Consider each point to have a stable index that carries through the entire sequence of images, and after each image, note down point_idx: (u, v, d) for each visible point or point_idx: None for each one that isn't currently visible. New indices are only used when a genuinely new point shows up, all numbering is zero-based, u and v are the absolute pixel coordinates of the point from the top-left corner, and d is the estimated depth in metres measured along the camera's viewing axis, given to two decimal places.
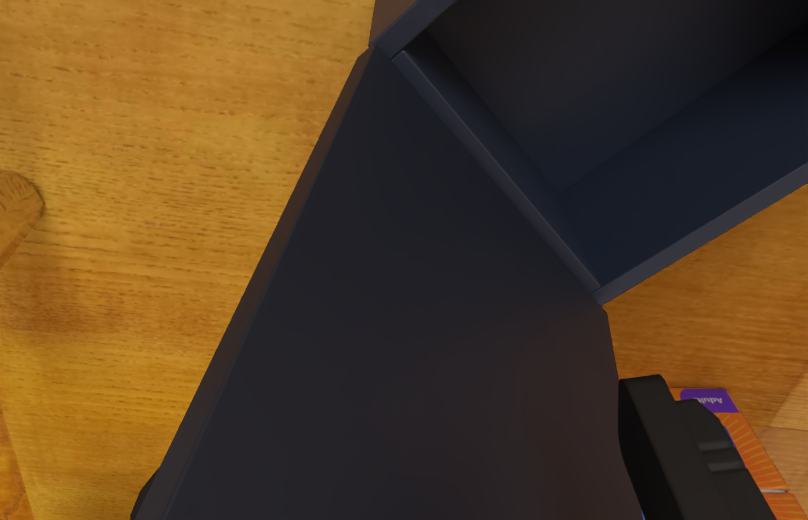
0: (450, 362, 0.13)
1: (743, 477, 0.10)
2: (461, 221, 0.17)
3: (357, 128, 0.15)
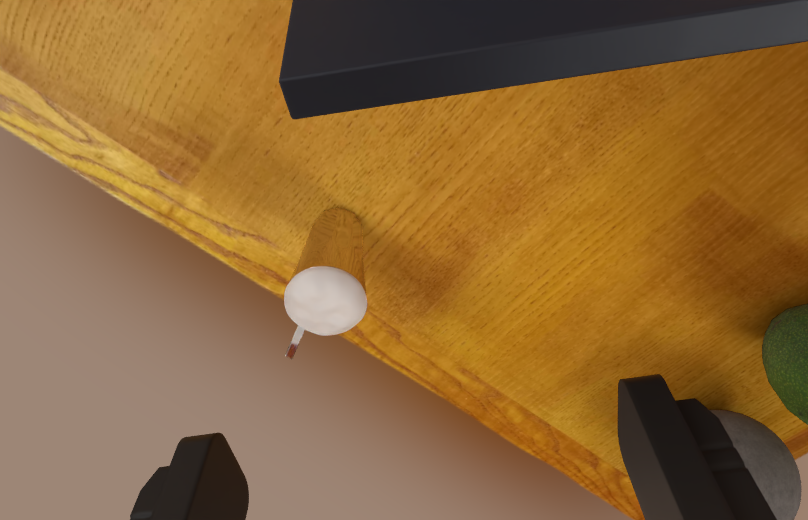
0: None
1: (743, 477, 0.10)
2: None
3: None
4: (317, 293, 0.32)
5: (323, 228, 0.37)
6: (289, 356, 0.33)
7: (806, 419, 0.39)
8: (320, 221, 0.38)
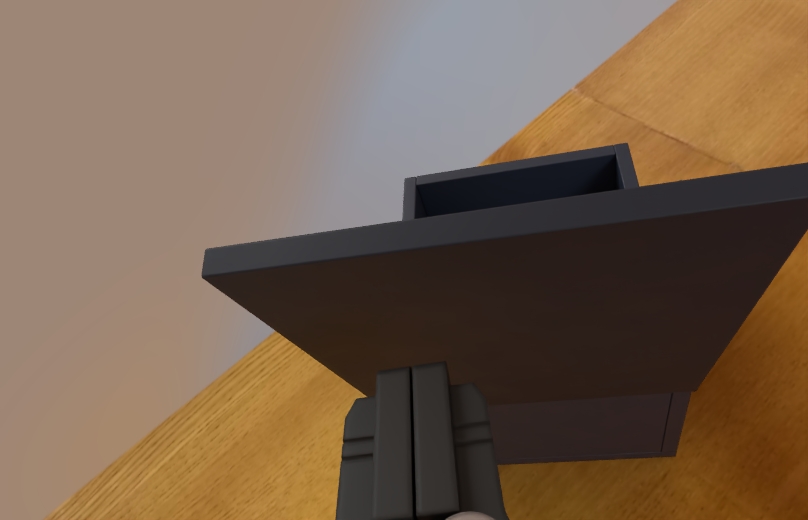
0: None
1: (487, 449, 0.11)
2: None
3: None
4: None
5: None
6: None
7: None
8: None
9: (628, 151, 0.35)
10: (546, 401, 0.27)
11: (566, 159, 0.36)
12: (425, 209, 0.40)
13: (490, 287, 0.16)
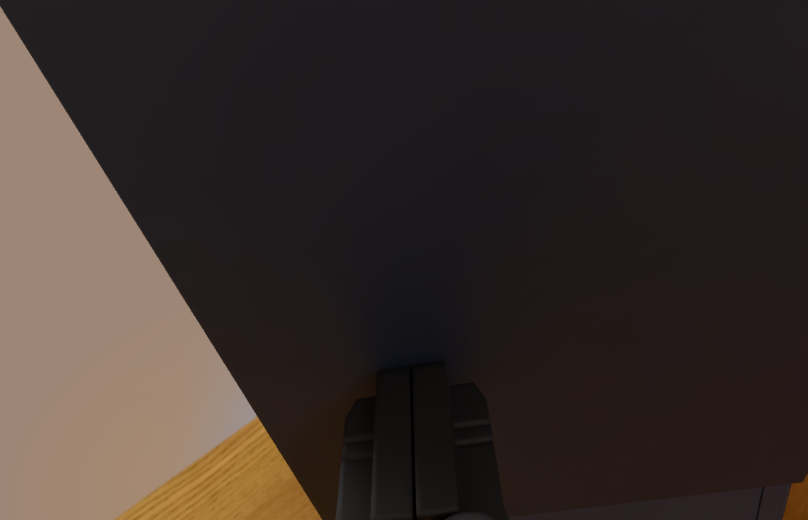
0: None
1: (486, 449, 0.11)
2: None
3: None
4: None
5: None
6: None
7: None
8: None
9: None
10: (578, 508, 0.18)
11: None
12: None
13: (545, 81, 0.09)
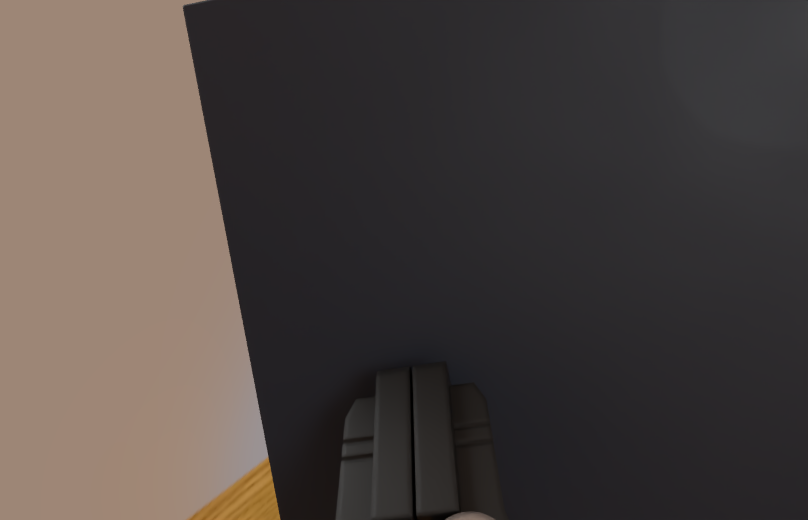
0: None
1: (486, 449, 0.11)
2: None
3: None
4: None
5: None
6: None
7: None
8: None
9: None
10: None
11: None
12: None
13: (504, 68, 0.13)
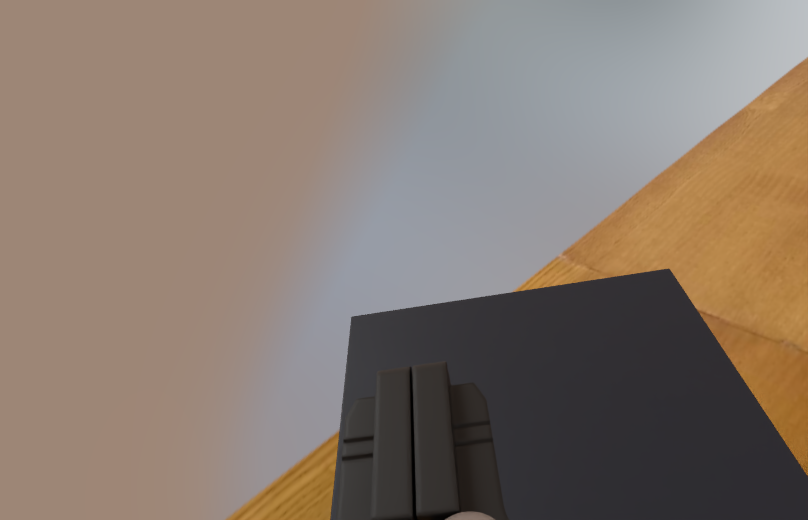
0: None
1: (487, 449, 0.11)
2: None
3: None
4: None
5: None
6: None
7: None
8: None
9: None
10: None
11: None
12: None
13: (513, 333, 0.24)
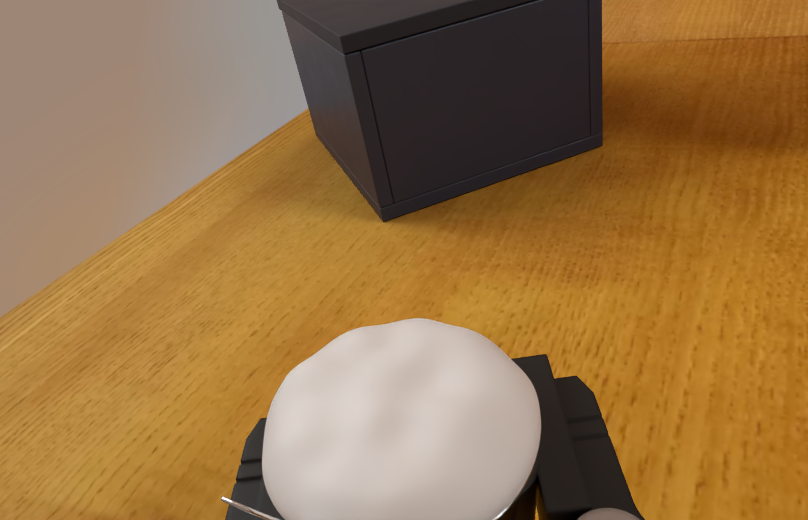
0: None
1: (604, 444, 0.10)
2: None
3: None
4: (360, 332, 0.11)
5: None
6: (240, 503, 0.07)
7: None
8: None
9: None
10: None
11: None
12: None
13: None
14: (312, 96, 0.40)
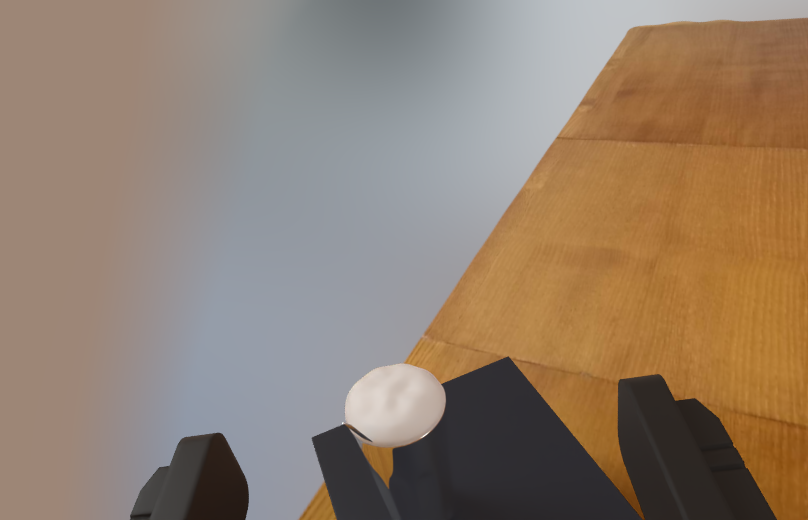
0: None
1: (743, 477, 0.10)
2: None
3: None
4: (380, 369, 0.28)
5: None
6: (348, 424, 0.24)
7: None
8: None
9: None
10: None
11: None
12: None
13: None
14: None
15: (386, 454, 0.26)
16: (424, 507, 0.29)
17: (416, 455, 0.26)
